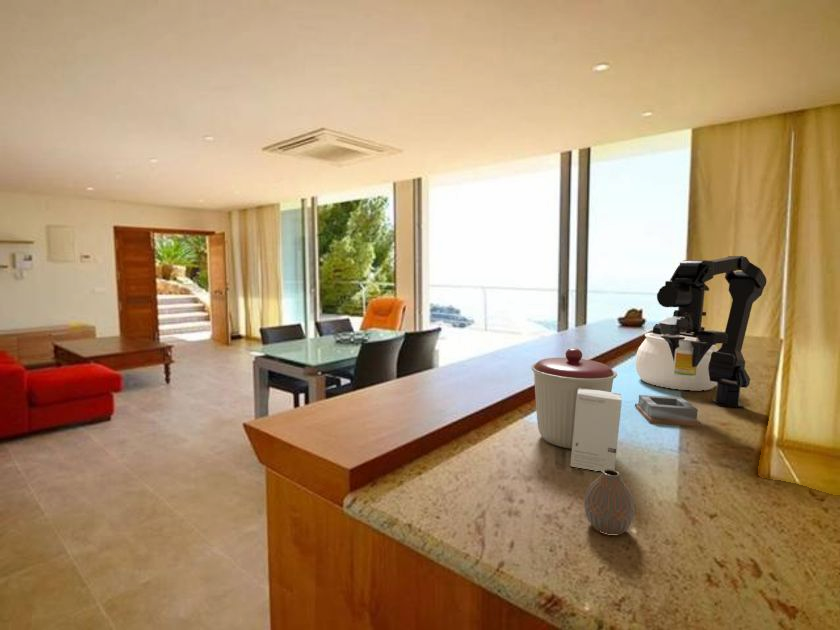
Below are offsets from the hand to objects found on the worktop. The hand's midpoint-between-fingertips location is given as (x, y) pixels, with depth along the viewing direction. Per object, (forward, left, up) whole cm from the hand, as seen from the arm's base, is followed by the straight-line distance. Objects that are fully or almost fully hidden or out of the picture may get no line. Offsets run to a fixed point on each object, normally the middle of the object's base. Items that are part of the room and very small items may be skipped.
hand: (685, 364), depth 127 cm
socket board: (+4, -5, -14) cm, 15 cm away
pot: (-37, +11, -14) cm, 41 cm away
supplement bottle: (0, 0, -3) cm, 3 cm away
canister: (+29, -33, -14) cm, 46 cm away
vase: (+65, -32, -14) cm, 74 cm away
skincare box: (+42, -30, -14) cm, 54 cm away
